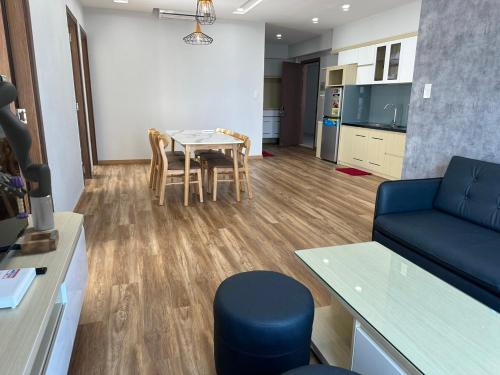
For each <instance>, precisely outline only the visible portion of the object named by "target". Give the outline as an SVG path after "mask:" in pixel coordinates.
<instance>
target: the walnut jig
mask: <svg viewBox="0 0 500 375" xmlns="http://www.w3.org/2000/svg"><path fill="white" fill-rule="evenodd" d="M59 242H60V235H59V230H58V229H53V230H45V231H36V232H29V233H28V232H27V233H25V235H24V237H23V239H22V241H21V243H20V252H21V254H22V255H26V254H34V253H35V254H36V253H43V252H50V251H56V250H57V248H58V245H59Z"/></svg>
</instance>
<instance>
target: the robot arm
mask: <svg viewBox="0 0 500 375" xmlns="http://www.w3.org/2000/svg"><path fill="white" fill-rule="evenodd" d="M17 97H18V90H17V87H16V86H15V85H14V83H12V82H10V81H6V80H5V81H4V80H0V127H1V128H2V131H3V133H4V135H5V137H6V138H5V139H6V140H7V141H8V144H9V145H10V147H11V149H12V151H13V153H14V155H15V158H16V161H17V163H18V166H19V170H20V172H21V174H22V177H23V179H24V180H25V181H26V182H29V183H37V187H35V188H33V189H32V188H31V189H30V190H29V191H28V190H27V189H26V188H24V187H21V191H19V190H18V189H16V188H15V187H14V186H13V185H12V183H11V179H12V177H14V176H13V175H12V174H10V172H7V173H4V172H2V170H3V166H1V165H0V190H1V191H2V192H4V193H6V194H8V195H9V194H12V195H14V196H15V197H16V198H17V197H18V198H20V199H23V198H24V197H25V196H26V194H28V193H29V199H30V208H31V209H30V212H31V218H32V219H31V220H32V227H33V229H34V230H35V231H38V232H42V231H49V230H51V229H54V228H55V218H54V217H55V216H54V207H53V200H52V173H51V168H50V166H49V165H48V164H46V163H33V161H32V159H31V157H30V151H31V148H32V145H33V138H32V136H31V134H30V130H29V129H28V127H27V125H26V124H25V123H24V122H23V120H21V119H20V118H19V117H18V116H17V115H16V114H15V113H14V112H13V111H12V110H11V108H10V107H9V105H10V104H13V103H14V102H15V101H16V99H17ZM18 198H17V199H18Z"/></svg>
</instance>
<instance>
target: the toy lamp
mask: <svg viewBox="0 0 500 375" xmlns="http://www.w3.org/2000/svg"><path fill="white" fill-rule="evenodd" d="M11 183H12V185H13V186H14V187H15V188H16V189H18V190H19V191H21V187H23V188H24V187H25V183H24V181H23V179H22V176H19V175H15V176H13V177H12V179H11ZM23 200H24V199H23V198H22V199H20V198H18V197H17V196H16V201H17V206H18V213H17V214H16V216H15V218H16V219H17V220H23V219H28V218H29V214H28V213H27V212H25V208H24V202H23Z"/></svg>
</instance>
